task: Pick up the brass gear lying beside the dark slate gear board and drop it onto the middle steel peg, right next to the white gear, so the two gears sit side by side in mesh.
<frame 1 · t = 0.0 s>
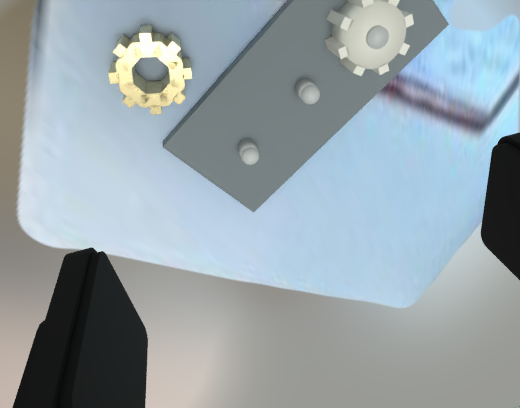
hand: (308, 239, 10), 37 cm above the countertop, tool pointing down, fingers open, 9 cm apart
brass gear: (152, 64, 43), on the countertop
gear board: (299, 82, 47), on the countertop
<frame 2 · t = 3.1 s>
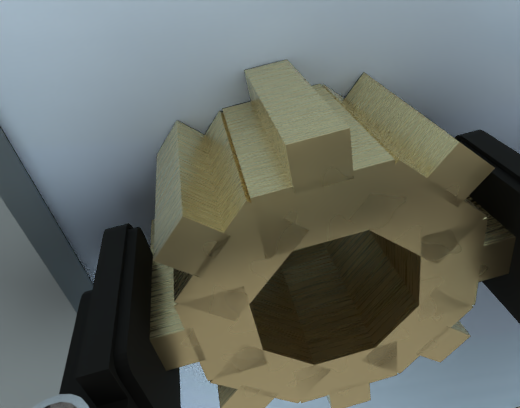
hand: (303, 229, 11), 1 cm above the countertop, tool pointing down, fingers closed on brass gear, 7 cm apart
brass gear: (290, 198, 12), on the countertop, touching gripper
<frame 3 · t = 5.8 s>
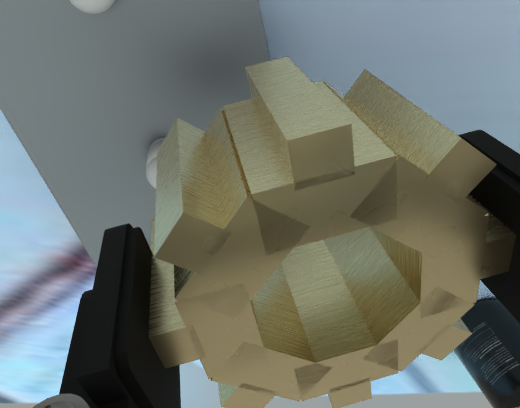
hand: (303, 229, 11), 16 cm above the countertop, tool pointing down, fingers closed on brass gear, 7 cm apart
brass gear: (290, 196, 12), point 15 cm above the countertop, touching gripper
gear board: (165, 140, 26), on the countertop
supplement bottle: (475, 320, 42), on the countertop
when the fingers open (4 cm above the countertop, at t = 8.6 s): brass gear drops 1 cm, resting on gear board.
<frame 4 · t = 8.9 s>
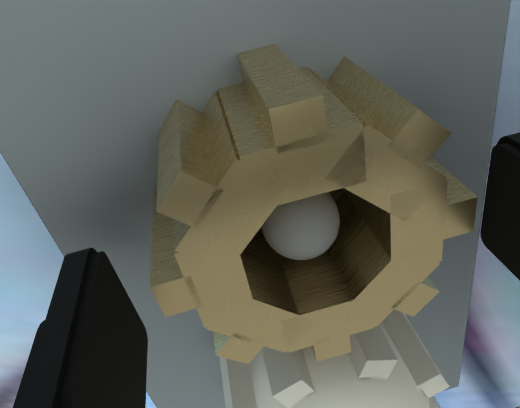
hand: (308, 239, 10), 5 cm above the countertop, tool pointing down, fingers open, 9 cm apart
brass gear: (279, 173, 13), point 1 cm above the countertop, touching gear board
gear board: (268, 152, 14), on the countertop
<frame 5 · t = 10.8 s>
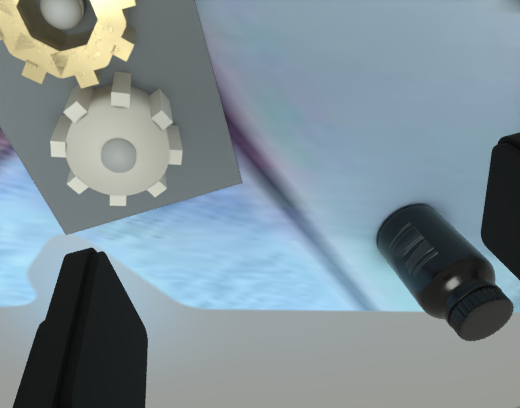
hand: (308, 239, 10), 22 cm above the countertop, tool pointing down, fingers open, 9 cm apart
brass gear: (68, 1, 24), point 1 cm above the countertop, touching gear board
supplement bottle: (406, 229, 43), on the countertop
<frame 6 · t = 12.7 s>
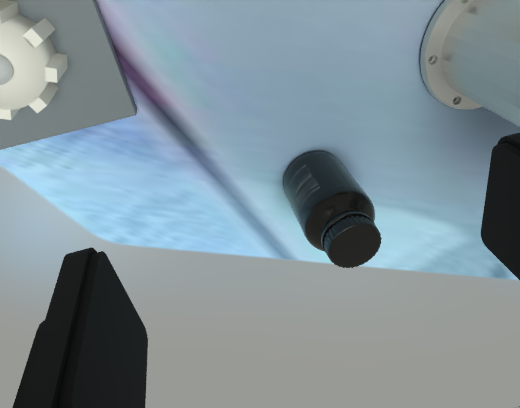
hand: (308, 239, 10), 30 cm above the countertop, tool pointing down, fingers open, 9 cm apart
supplement bottle: (312, 177, 46), on the countertop
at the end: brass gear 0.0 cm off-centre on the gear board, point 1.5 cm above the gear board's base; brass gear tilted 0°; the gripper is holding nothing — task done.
